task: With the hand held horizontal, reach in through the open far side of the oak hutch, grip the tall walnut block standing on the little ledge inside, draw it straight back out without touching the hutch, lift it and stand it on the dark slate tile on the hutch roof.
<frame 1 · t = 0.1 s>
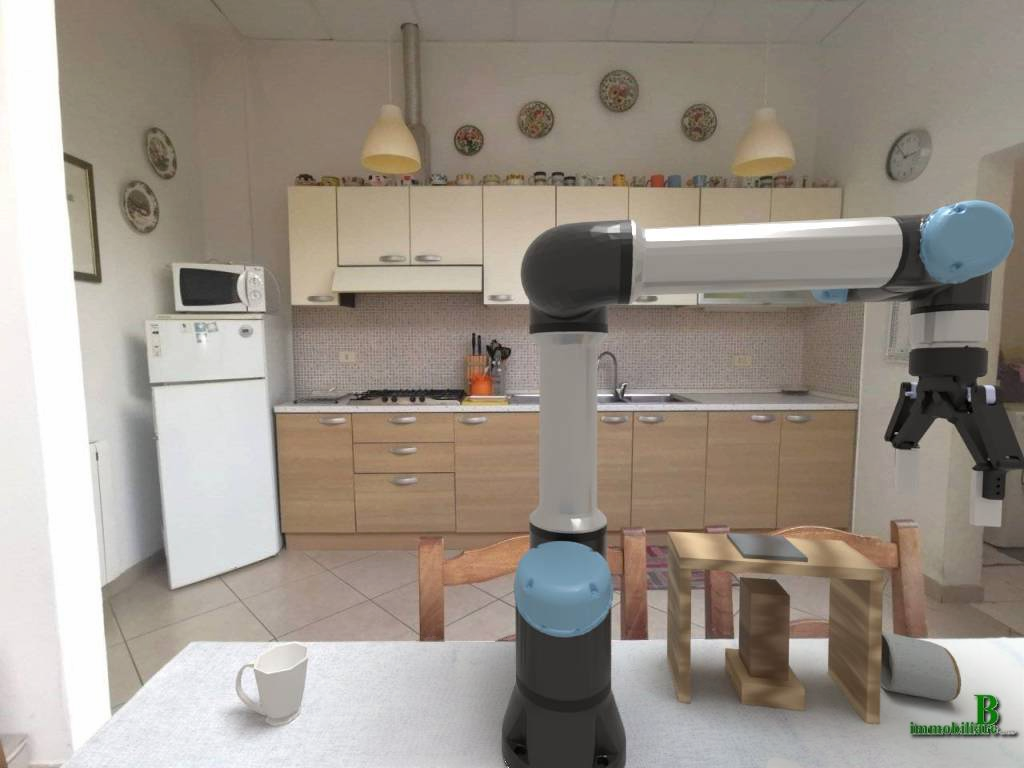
hand: (941, 508, 61), 28 cm above the table, tool pointing down, fingers open, 13 cm apart
oak hutch: (762, 687, 67), on the table
walnut block: (762, 667, 67), point 3 cm above the table, touching oak hutch
cup: (273, 715, 63), on the table
ceramic mug: (905, 686, 68), on the table
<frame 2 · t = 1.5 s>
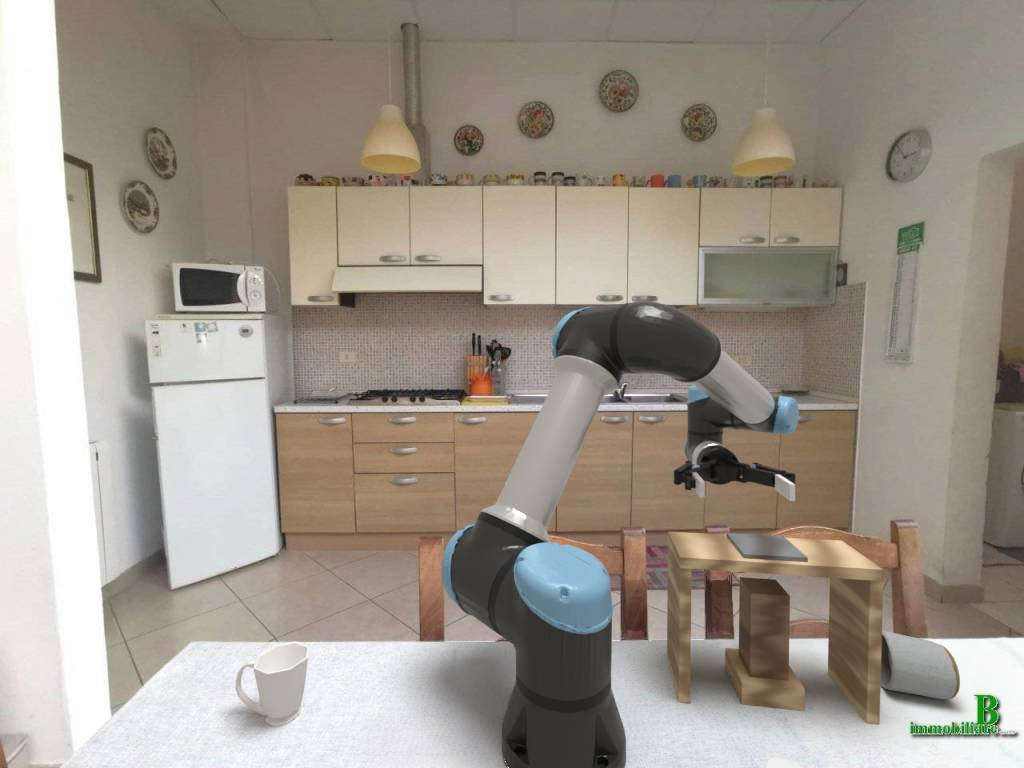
hand: (746, 491, 75), 26 cm above the table, tool horizontal, fingers open, 13 cm apart
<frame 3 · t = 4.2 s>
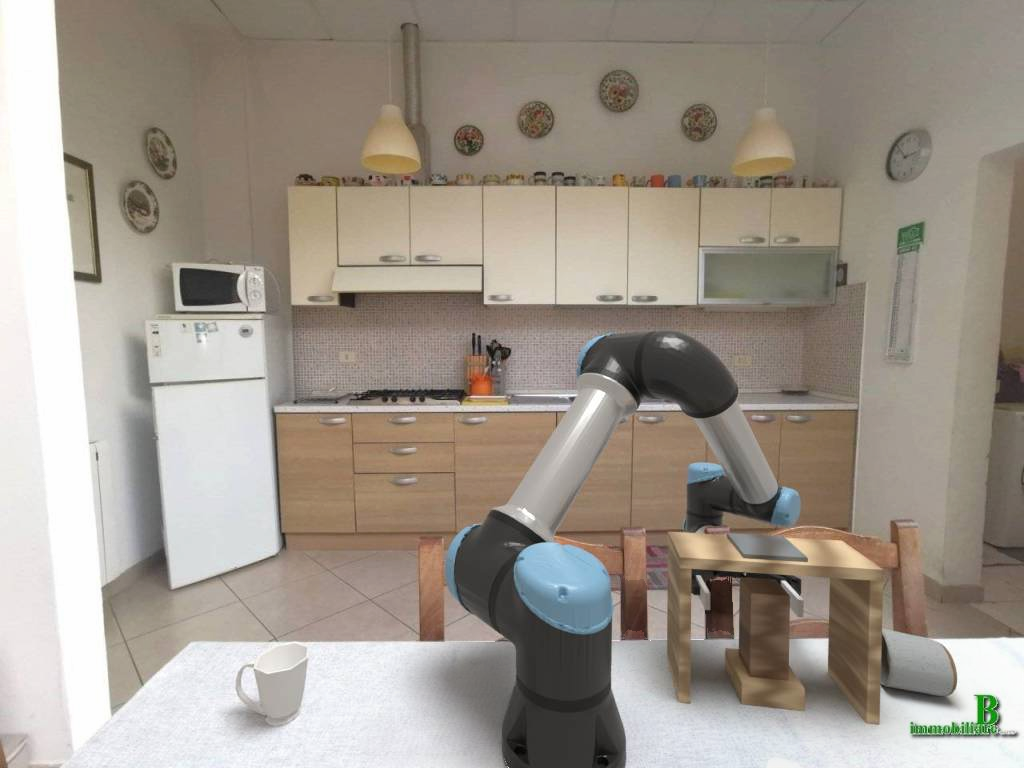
hand: (753, 605, 72), 9 cm above the table, tool horizontal, fingers open, 13 cm apart
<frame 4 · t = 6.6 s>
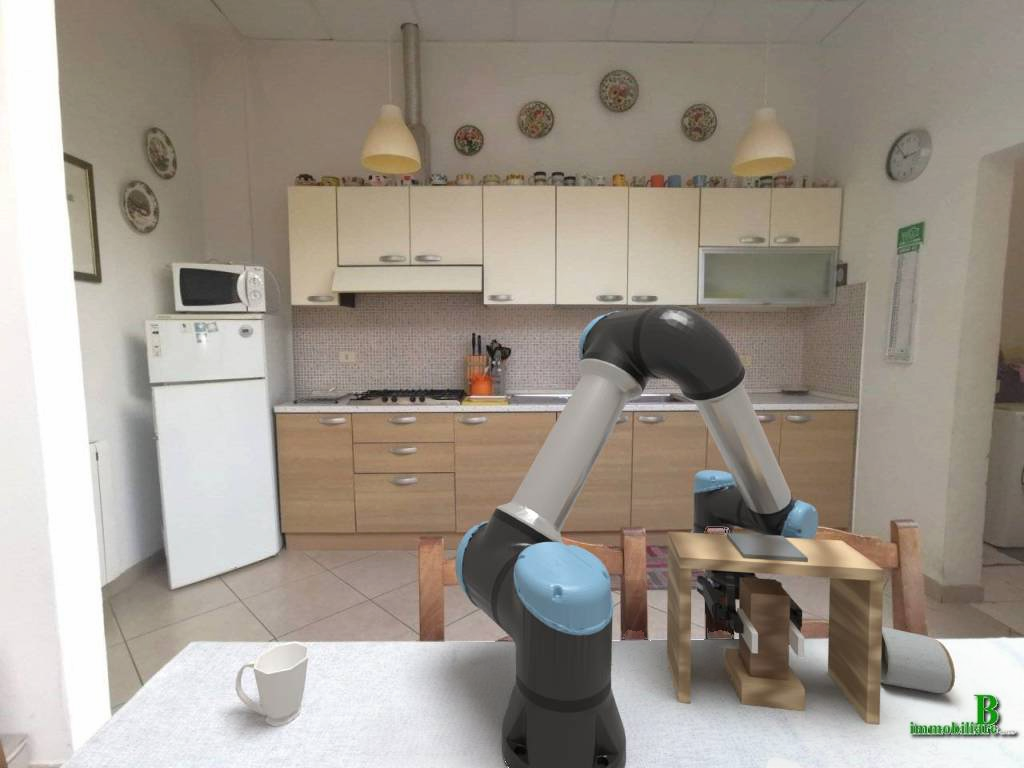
hand: (777, 645, 62), 10 cm above the table, tool horizontal, fingers closed on walnut block, 5 cm apart
walnut block: (762, 667, 67), point 3 cm above the table, touching gripper, oak hutch
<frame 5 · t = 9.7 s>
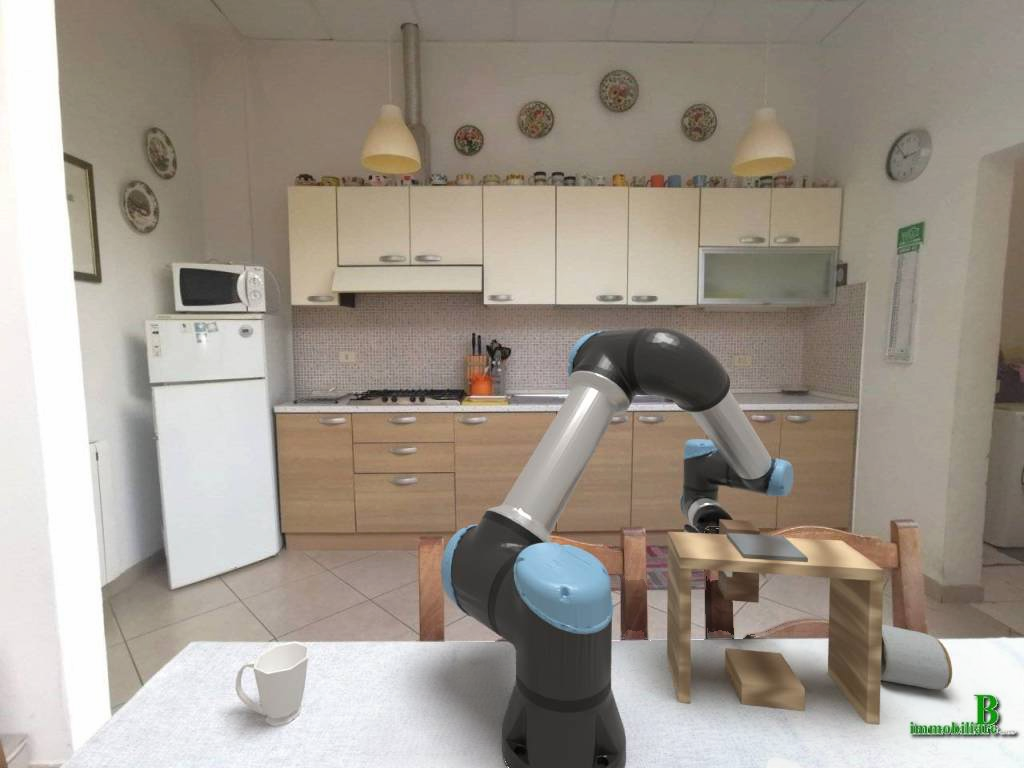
hand: (748, 569, 73), 14 cm above the table, tool horizontal, fingers closed on walnut block, 5 cm apart
walnut block: (737, 594, 79), point 8 cm above the table, touching gripper
when the fingers open (29 cm above the table, at t = 12.7 s): walnut block drops 1 cm, resting on oak hutch.
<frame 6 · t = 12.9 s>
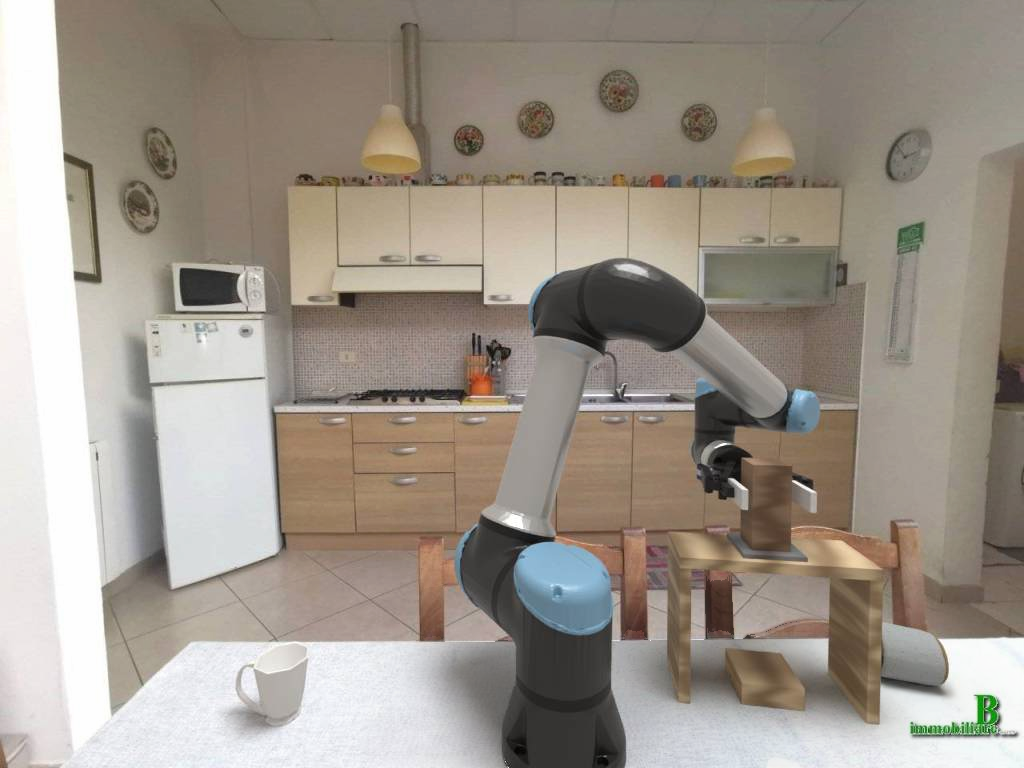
hand: (778, 501, 61), 29 cm above the table, tool horizontal, fingers open, 8 cm apart
walnut block: (764, 544, 66), point 21 cm above the table, touching oak hutch
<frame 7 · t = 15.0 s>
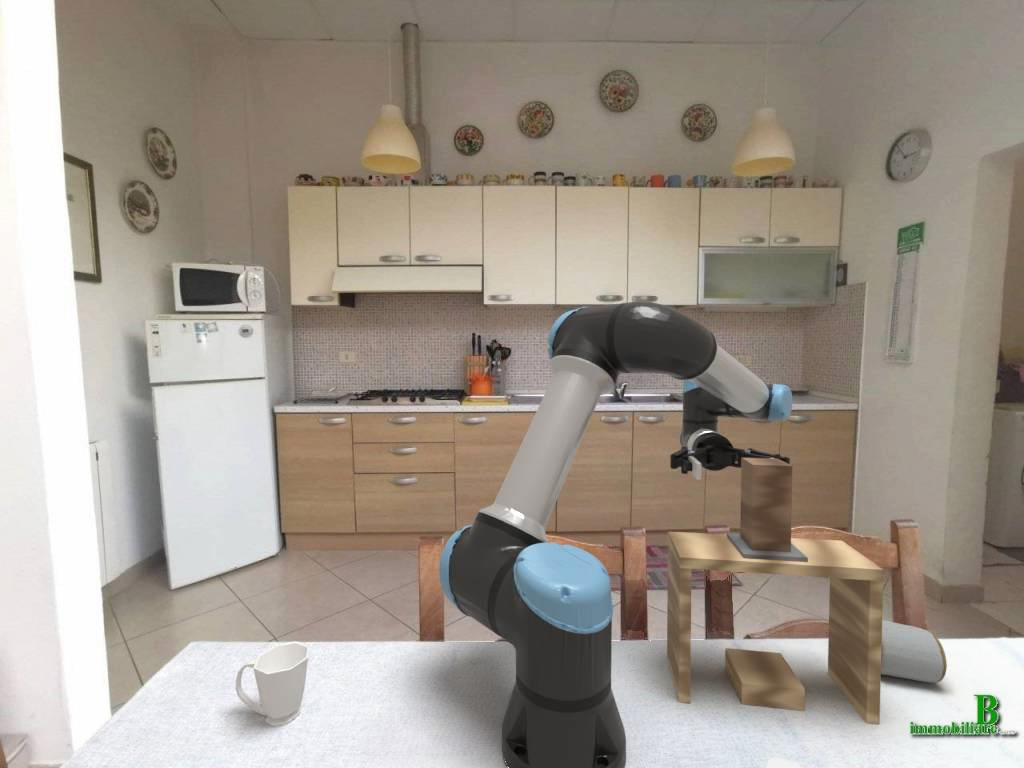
hand: (742, 473, 76), 29 cm above the table, tool horizontal, fingers open, 13 cm apart
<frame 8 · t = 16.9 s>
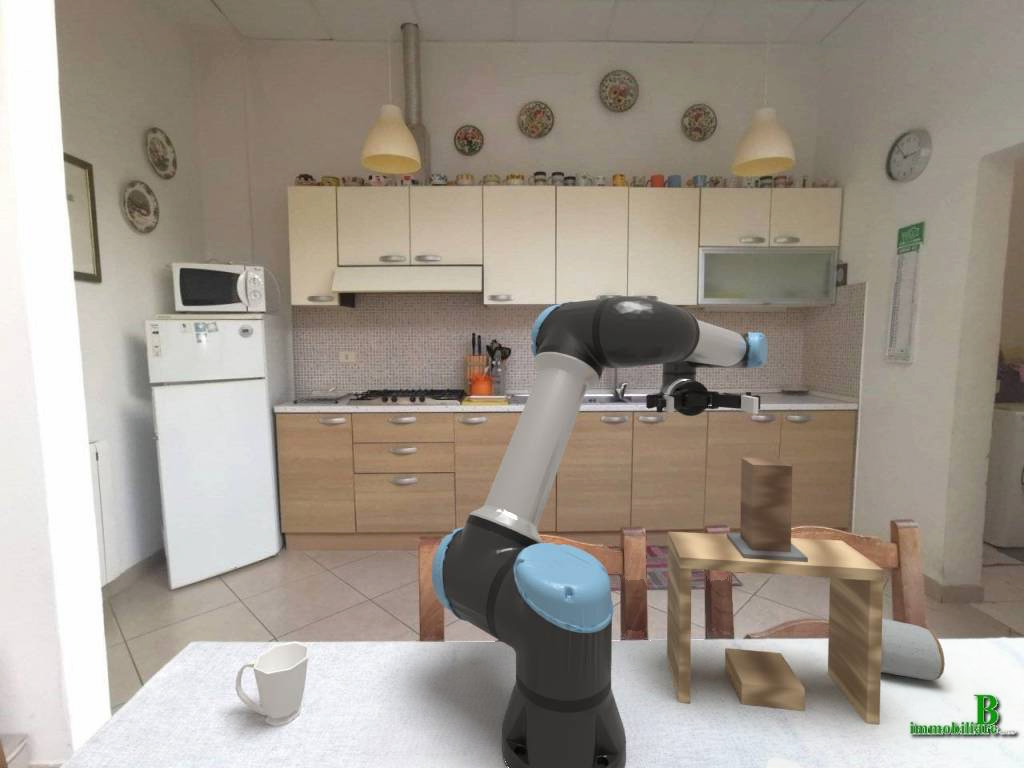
hand: (713, 405, 79), 40 cm above the table, tool horizontal, fingers open, 13 cm apart
at the end: walnut block inside the target area on the oak hutch (0.0 cm from its centre), point 21.1 cm above the oak hutch's base; walnut block tilted 0°; the gripper is holding nothing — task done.
